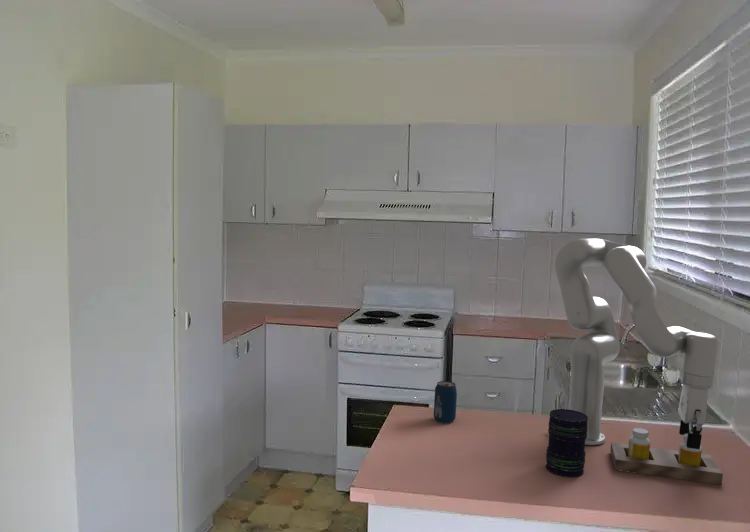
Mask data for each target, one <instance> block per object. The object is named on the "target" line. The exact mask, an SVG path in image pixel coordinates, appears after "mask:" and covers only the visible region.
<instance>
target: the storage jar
mask: <svg viewBox="0 0 750 532" xmlns="http://www.w3.org/2000/svg"><path fill="white" fill-rule="evenodd" d="M587 421H588V416H587V415H585V414H584V413H581V412H578V411H574V410H569V408H568V409H567V408H557V409H552V410H551V411H550V412H549V421H548V429H547V431H548V433H547V434H548V445H547V446H546V455H545V459H546V460H545V461H546V465H545V469H546V470H547V471H548V472H549V473H551V474H553V475H555V476H558V477H562V478H572V479H573V478H579V477H582V476H583V475H584V472H585V471H584V470H585V464H586V451H585V448H586V445H585V440H586V438H587V430H588V427H587V425H588V423H587Z"/></svg>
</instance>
